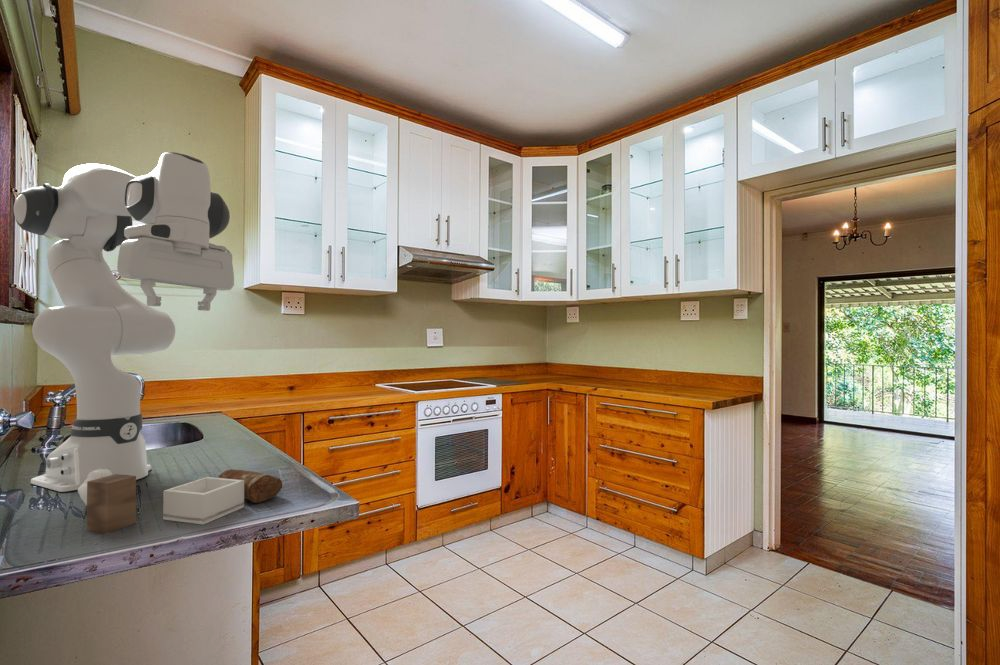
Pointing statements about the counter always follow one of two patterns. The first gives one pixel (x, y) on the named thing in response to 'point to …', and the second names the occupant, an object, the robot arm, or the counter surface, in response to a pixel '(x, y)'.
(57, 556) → the counter surface
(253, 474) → the bread
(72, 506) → the counter surface
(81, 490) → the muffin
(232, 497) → the bin
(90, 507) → the walnut block
